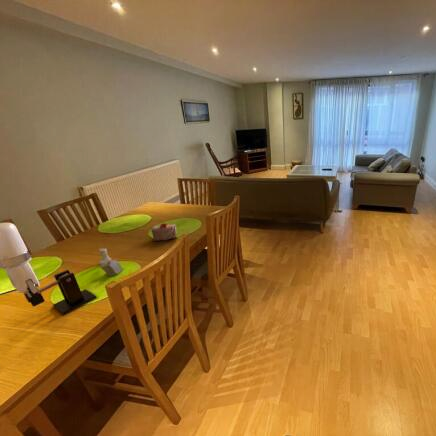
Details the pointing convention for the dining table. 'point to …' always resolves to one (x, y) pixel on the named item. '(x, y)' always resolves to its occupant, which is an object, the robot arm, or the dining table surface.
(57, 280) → the switch lever
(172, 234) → the food item
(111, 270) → the mineral specimen
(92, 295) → the stand
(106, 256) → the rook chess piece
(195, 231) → the dining table surface
